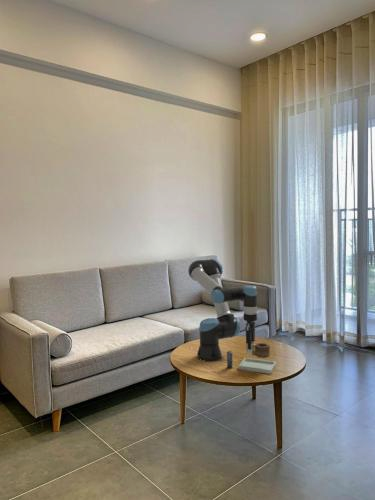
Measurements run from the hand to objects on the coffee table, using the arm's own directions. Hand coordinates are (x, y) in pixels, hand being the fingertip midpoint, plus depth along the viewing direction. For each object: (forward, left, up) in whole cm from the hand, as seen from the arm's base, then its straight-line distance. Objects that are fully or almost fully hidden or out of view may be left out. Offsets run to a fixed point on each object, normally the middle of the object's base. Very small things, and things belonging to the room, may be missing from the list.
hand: (250, 353), depth 219 cm
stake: (-11, -6, -7) cm, 14 cm away
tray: (+4, 0, -7) cm, 8 cm away
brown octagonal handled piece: (+4, 0, 0) cm, 4 cm away
